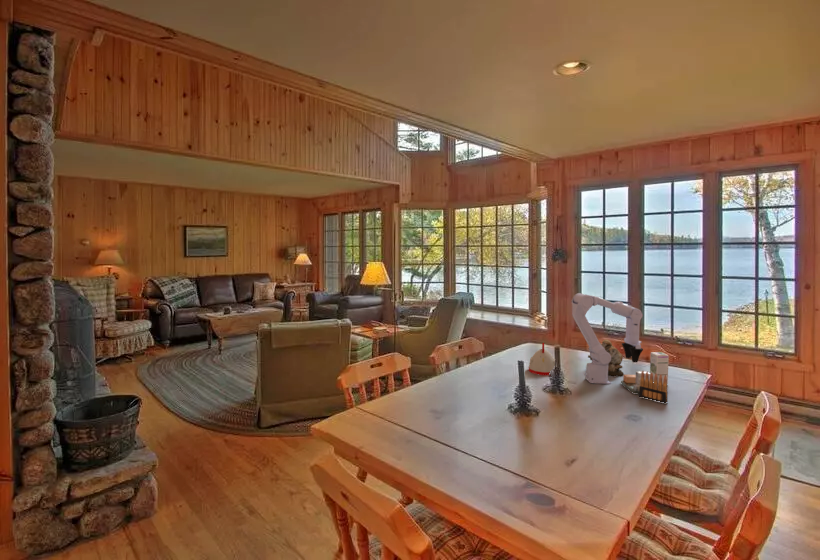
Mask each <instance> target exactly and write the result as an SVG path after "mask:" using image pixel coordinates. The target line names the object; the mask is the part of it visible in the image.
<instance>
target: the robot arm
mask: <svg viewBox="0 0 820 560" xmlns="http://www.w3.org/2000/svg"><path fill="white" fill-rule="evenodd" d="M571 305H572V306H571V307H572V310H571V311H572V315H571V316H572V318H573V320H574V322H575V323H576V325H577V327H578V328H579V330H580V332H581V334H582V336H583V338H584V339H585V341H586V344H587V345H588V350H589V355H590V356H591V358H592V360H591V362H588V363H586V366H585V379H586V380H587V381H588V382H589V383H590V384H608V385H609V384H610V385H611V384H612V383H611V381H609V376H608V363H610V361H611V355H610V354H609V353H608V352H606V350H605V349H604V347H603V346H602V345H601V344H602V343H601V342H600V341H599V339H598V337H597V335H596V333H595V331H594V329H593V327H592V326H591V324H590V323H589V321H588V319H587V317H586V314H587V312H588V311H589V310H590V309H591V308H592V307H595V306H600V307H604V308H607V309H610V311H611V312H612V313H613V314H615V315H618V316H620V317H624V318H625V321H626V322H625V337H624V338H623V343H622V342H621V346H622V347H623V350H624V355H625V358H626V359H631V362H632V363H638V362H639V359H640V356H641V354H642V352H644V348H642V345H641V344H642V342H643V341H642V340H640V324H641V319H642V318H643V316H644V315H643V312H642V310H641V309H640V308H637V307H633V305H632V304H625V303H624V302H623V301H620V300H619V301H614V302H611V301H609V300H607V299H604V298H601V297H600V296H596V295H591V294H585V293H582V292H578V293H576V294H574V295H573V296H572V299H571ZM600 343H601V344H600Z"/></svg>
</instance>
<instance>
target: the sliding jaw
mask: <svg viewBox="0 0 820 560" xmlns="http://www.w3.org/2000/svg"><path fill="white" fill-rule="evenodd" d="M622 377H623V378H622V379H623V380H622V381H625V382H626V383H635V379H636V374H624V375H623V376H622Z"/></svg>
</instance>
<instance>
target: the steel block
mask: <svg viewBox="0 0 820 560" xmlns="http://www.w3.org/2000/svg"><path fill="white" fill-rule="evenodd" d="M642 371H643V370H642ZM642 371H638V370H636V371H635V375H636V379H635V384H636V385H640V380H641V373H642ZM646 372H647V371H644V380H645V376H646ZM648 374H649V381H650V371H648Z"/></svg>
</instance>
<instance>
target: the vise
mask: <svg viewBox="0 0 820 560" xmlns="http://www.w3.org/2000/svg"><path fill="white" fill-rule="evenodd" d="M621 383H622V384H623V385H624V386H625V387H624V386H623V385H622V384H621ZM620 384H621V385H622V386H623V387H624V388H625V389H627V388H628V389H629V390H630V391H631V392H630V393H632V392H633V393H638V394H637V395H639V389H640V385H636V384H635V383H626V382H625V381H623V380H620ZM628 389H627V390H628ZM629 390H628V391H629ZM633 393H632V394H633Z"/></svg>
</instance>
